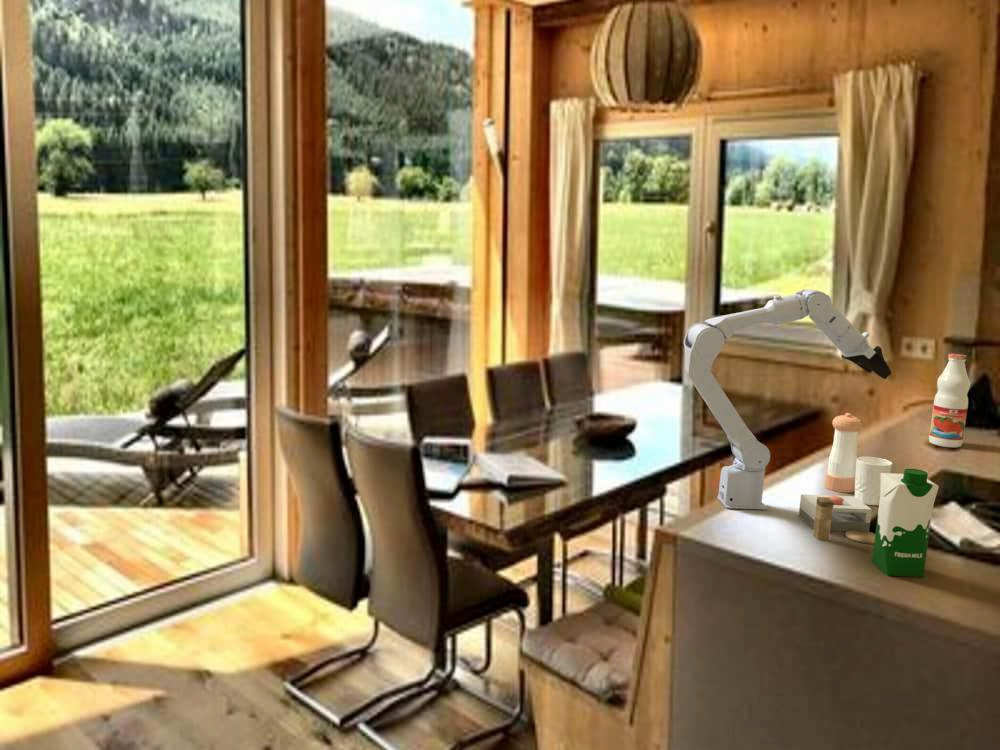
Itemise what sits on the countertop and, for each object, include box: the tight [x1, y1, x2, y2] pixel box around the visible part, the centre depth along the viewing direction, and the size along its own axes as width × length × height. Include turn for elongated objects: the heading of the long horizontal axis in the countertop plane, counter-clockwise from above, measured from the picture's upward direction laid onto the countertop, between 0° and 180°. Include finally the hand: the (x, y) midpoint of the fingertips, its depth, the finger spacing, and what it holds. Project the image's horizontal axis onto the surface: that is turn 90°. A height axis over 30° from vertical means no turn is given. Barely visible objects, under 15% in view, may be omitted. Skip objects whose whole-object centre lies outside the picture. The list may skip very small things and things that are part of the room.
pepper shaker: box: [824, 412, 864, 493], centre depth 224 cm, size 7×7×19 cm
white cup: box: [854, 455, 893, 506], centre depth 216 cm, size 8×8×10 cm
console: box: [798, 494, 873, 532], centre depth 198 cm, size 12×9×5 cm
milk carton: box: [870, 468, 940, 578], centre depth 172 cm, size 9×9×20 cm
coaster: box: [845, 530, 876, 545], centre depth 190 cm, size 7×7×1 cm
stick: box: [812, 497, 834, 541], centre depth 188 cm, size 2×2×8 cm
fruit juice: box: [928, 353, 971, 448], centre depth 278 cm, size 9×9×28 cm
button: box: [829, 495, 844, 506], centre depth 198 cm, size 3×3×3 cm
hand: (880, 372), depth 205 cm, fingers open, 7 cm apart
